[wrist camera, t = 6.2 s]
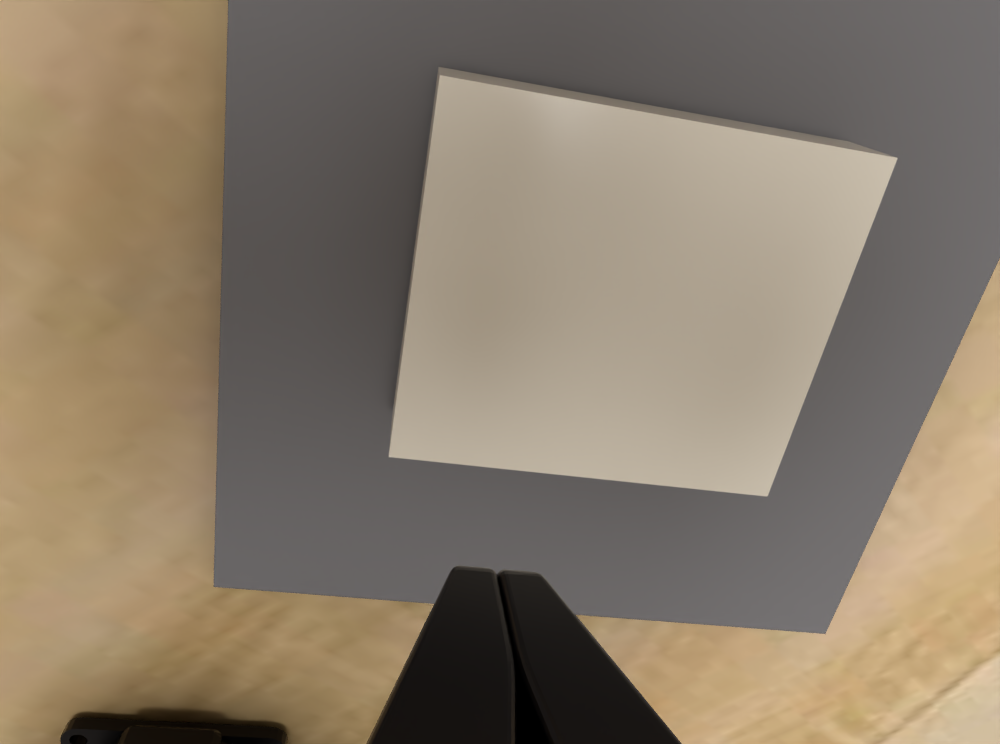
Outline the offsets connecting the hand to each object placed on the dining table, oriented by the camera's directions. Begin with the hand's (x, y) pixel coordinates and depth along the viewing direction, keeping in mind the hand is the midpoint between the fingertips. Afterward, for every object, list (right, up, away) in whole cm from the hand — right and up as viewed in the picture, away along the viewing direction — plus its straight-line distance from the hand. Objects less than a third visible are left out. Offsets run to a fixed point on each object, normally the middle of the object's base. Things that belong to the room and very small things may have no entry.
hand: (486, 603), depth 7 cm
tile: (-2, +4, +9) cm, 10 cm away
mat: (+3, +5, +11) cm, 12 cm away
